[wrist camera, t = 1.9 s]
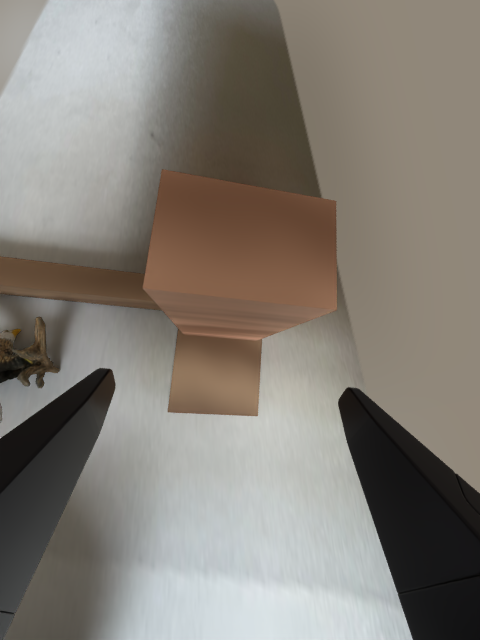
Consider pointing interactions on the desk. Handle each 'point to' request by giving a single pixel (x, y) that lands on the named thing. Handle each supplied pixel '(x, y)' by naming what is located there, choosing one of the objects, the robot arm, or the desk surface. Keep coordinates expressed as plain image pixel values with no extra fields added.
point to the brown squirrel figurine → (25, 358)
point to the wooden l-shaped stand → (212, 281)
